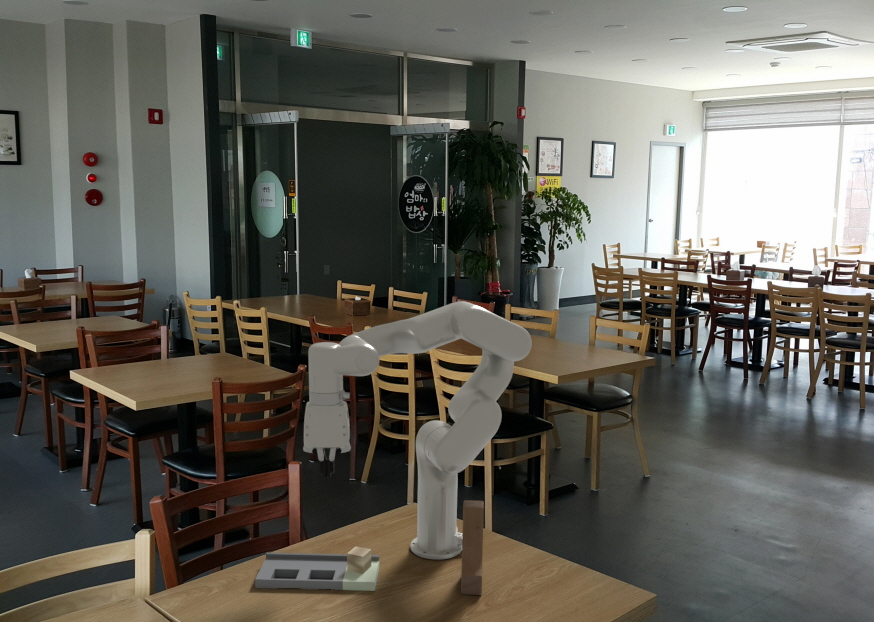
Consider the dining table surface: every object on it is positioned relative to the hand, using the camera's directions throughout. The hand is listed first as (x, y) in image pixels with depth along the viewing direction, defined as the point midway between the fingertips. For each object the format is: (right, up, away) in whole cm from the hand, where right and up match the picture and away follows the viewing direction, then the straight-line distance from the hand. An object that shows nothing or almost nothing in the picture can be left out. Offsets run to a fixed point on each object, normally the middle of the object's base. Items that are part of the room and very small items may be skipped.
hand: (327, 475), depth 182 cm
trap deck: (-1, -22, -3) cm, 22 cm away
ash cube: (+8, -20, -3) cm, 22 cm away
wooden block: (+33, -23, -6) cm, 40 cm away
